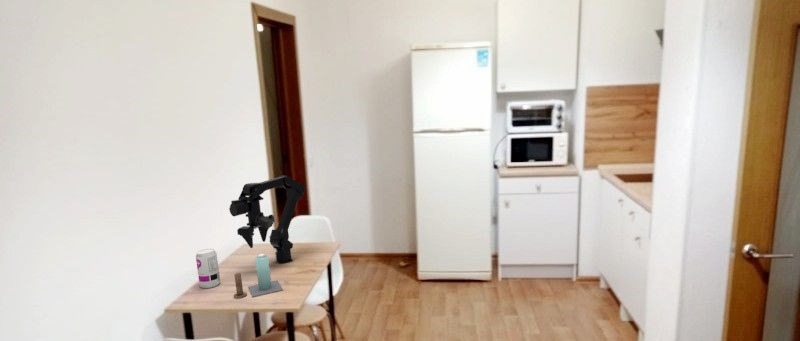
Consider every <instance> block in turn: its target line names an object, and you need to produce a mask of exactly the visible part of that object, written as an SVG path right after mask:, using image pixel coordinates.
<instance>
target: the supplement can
mask: <svg viewBox="0 0 800 341" xmlns="http://www.w3.org/2000/svg"><path fill="white" fill-rule="evenodd" d="M195 261H196V262H195V263H196V268H197V275H198V284H199V286H200V287H201V288H202V289H211V288H215V287H217V286H218V285H219V284H220V283H221V276H220V269H219V268H220V267H219V261H218V253H217V251H216V250H215V249H214V248H205V249H201V250H198V251H197V252H196V255H195Z"/></svg>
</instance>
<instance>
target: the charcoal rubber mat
mask: <svg viewBox="0 0 800 341" xmlns="http://www.w3.org/2000/svg"><path fill="white" fill-rule="evenodd" d="M271 286H272V287H271V288H270V289H268V290H259V285H258V284H254V285H249V286H247V289H248V290H249V292H250V295H252V296H251V298H252V297H253V298H256V297H261V296H264V295H268V294H273V293H277V292H282V291H284V289H283V287H282V285H281V283H280V281H279V280H278V279H276V280H271Z"/></svg>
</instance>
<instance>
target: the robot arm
mask: <svg viewBox="0 0 800 341" xmlns="http://www.w3.org/2000/svg"><path fill="white" fill-rule="evenodd" d="M281 186H282V187H283V188H284V189H286V193H285V194H286V201H285V204H284V208H283V210H282V214H281V217H280V220H279V222H278V226H277V228H276V229H272V230H271V233H270V236H269V237H268V238H269V243H270V245H271V246H272V247H273V249H275V253H274V254H275V261H276V262H277V263H278V265H279V264H284V263H290V262H293V259H292V252H291V251H292V250H291V249H293V246H294V244H293V242H292V241H290V240H289V238H290V235H289V234H290V233H289V229H290V224H291V222H292V218H293V216H294V213H295V210H296V208H297V203H298V201H299V200H301V198H302V197H303V196H304V193H305V191H306V187H305V186H304V184H303V183H301V182H298V181H296V180H294V179H293V178H291V176H288V175H279V176H277V177H275V178H270V179H268V180H264V181H261V182H250V183H249V182H248V183H245V184H244V185H243V187H242V191H241V192H240V194H239V196H238V199H234V200H231V203H230V205H229V208H228V210H229V213H230V215H231V216H232V217H238V216H241V215H245V217H247V220H248V221H247V223H246V226H245V225H244V226H241V227H238V228H237V235H239V236H240V237H242V239H244V241H245V242H246V244H247V245H248V247H249V248H251V249H252V248H254V239H253V236H254V235H255V233H254V232H255V230H256V229H258V232H259V235H260V237H261V240H262V242H266V240H267V235H268V231H269V229H270V228H271V227H273V225H274V223H275V222H276V220H275V215H273V214H269V215H266V216H265V215H264V212H262V211H261V204H260V201H263V200H264V197H263V196H261V195H262V194H264V192H266V191H268V190H272V189H275V188H278V187H281Z"/></svg>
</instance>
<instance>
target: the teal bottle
mask: <svg viewBox="0 0 800 341" xmlns="http://www.w3.org/2000/svg"><path fill="white" fill-rule="evenodd" d="M254 259H255V268H256V276H257V285H259V290H268V289H270V288H271V287H272V286H271V281H272V279H271V278H272V277H271V269H270V263H269V262H270V260H269V256H268V255H266V254H264V253H259V254H258V256H256V257H255V258H254Z"/></svg>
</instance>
